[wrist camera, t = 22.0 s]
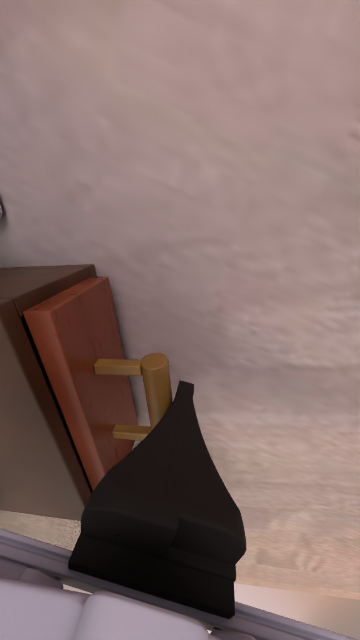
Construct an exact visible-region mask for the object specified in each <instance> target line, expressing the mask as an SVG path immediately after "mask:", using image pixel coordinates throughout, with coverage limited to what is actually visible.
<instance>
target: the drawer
mask: <svg viewBox="0 0 360 640" xmlns="http://www.w3.org/2000/svg"><path fill="white" fill-rule="evenodd" d="M23 315H24V316H22V317H20V319H21V321H22V324H23V326H24V328H25V331H26V333H27V336H28V338H29V341H30V343H31V346H32V348H33V351H34V353H35V356H36V358H37V361H38V363H39V366H40V368H41V371H42V373H43V375H44V378H45V380H46V383H47V385H48V388H49V390H50V393H51V395H52V398H53V400H54V403H55V405H56V408H57V410H58V413H59V415H60V417H61V420H62V422H63V425H64V427H65V430H66V432H67V435H68V437H69V440H70V442H71V445H72V447H73V450H74V452H75V455H76V457H77V459H78V462H79V464H80V467H81V469H82V472H83V473H84V471H85V472H86V474H87V477H88V480H89V482H90V485H91V487H92V490H93V491H94V489H95V488H96V486H97V485H98V483H99V482H100V481H101V479H102V478H103V477H104V476H105V474H106V473H107V472H108V471H109V470H110V469H111V468H112V467H113V466H115V465H116V464H117V463H118V462H120V461H121V460H122V459H123V458H124V457H126V456H127V455H128V454H129V453H130V452H131V450H132V447H133V444H134V441H135V440H143V439H144V438H145V437H146V436H147V435H148V434H149V433H150V432H151V431H152V430H153V428H154V427H155V426H156V425H157V424H158V422H159V421H160V420H161V419H162V417H163V416H164V414H165V413H166V412H167V410H168V409H169V407H170V406H171V404H172V402H173V401H172V391H171V382H170V372H169V362H168V358H167V356H166V355H164V354H161V353H152V354H149V355H146V356H145V357H144V358H143V359H142V360H125V359H124V354H123V349H122V344H121V339H120V334H119V329H118V324H117V319H116V314H115V309H114V304H113V299H112V294H111V289H110V284H109V279H108V277H90V278H88V279H86V280H84V281H82V282H80V283H78V284H76V285H74V286H72V287H70V288H68V289H66V290H64V291H63V292H61V293H59V294H57V295H55V296H53V297H51V298H49V299H47V300H45V301H43V302H41V303H39V304H37V305H35V306H33V307H31V308H29V309H27V310H26V311H24V312H23ZM128 375H132V376H141V375H142V376H143V382H144V388H145V394H146V400H147V406H148V412H149V418H150V424H151V427H146V426H138V423H137V418H136V413H135V408H134V403H133V398H132V394H131V389H130V384H129V379H128Z"/></svg>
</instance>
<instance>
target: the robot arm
mask: <svg viewBox="0 0 360 640" xmlns="http://www.w3.org/2000/svg"><path fill="white" fill-rule="evenodd" d="M2 213H3V212H2V208H1V205H0V218H1V217H2ZM193 394H194V384H192V383H188V382H184V381H181V380H180V382H179V385H178V388H177V392H176V395H175V399H174V401H173V402H172V404H171V406H170V407H169V409H168V410H167V412H166V413H165V414H164V416H163V417H162V419H161V420H160V421H159V422H158V424H157V425H156V426H155V427H154V428H153V430H152V431H151V432H150V433H149V434H148V435H147V436H146V437H145V438H144V439H143V440H142V441H141V442H140V443H139V444H138V445H137V446H136V447H135V448H134V449H133V450H132V451H131V452H130V453H129V454H128V455H127V456H126V457H124V458H123V459H122V460H121V461H120V462H118V463H117V464H116V465H115V466H113V467H112V468H111V469H110V470H109V471H108V472H107V473H106V474H105V476H104V477H103V478H102V479H101V481H100V482H99V483H98V485H97V486H96V488H95V489H94V491H93V492H92V494H91V496H90V497H89V499H88V501H87V504H86V506H85V508H84V510H83V513H82V516H81V533H80V535H79V538H78V540H77V542H76V545H75V547H74V550H73V551H71V550H68V549H65V548H61V547H58V546H55V545H52V544H49V543H45V542H42V541H39V540H36V539H32V538H29V537H26V536H23V535H20V534H16V533H13V532H10V531H7V530H3V529H0V640H357V639H354V638H351V637H348V636H345V635H341V634H338V633H335V632H332V631H329V630H325V629H322V628H319V627H316V626H312V625H309V624H305V623H303V622H299V621H296V620H293V619H290V618H287V617H283V616H280V615H277V614H274V613H271V612H267V611H264V610H261V609H257V608H254V607H251V606H248V605H245V604H242V603H238V602H235V599H234V582H235V580H236V566H235V564H236V563H237V562H238V561H239V560H240V558H241V557H242V556H243V555H244V554H245V552H246V537H245V531H244V526H243V521H242V517H241V513H240V510H239V509H238V507H237V505H236V504H235V502H234V501H233V499H232V497H231V496H230V494H229V492H228V490H227V489H226V487H225V485H224V483H223V481H222V479H221V478H220V476H219V473H218V471H217V469H216V467H215V465H214V463H213V461H212V459H211V457H210V454H209V452H208V450H207V447H206V445H205V442H204V439H203V436H202V434H201V431H200V427H199V424H198V420H197V417H196V413H195V408H194V404H193ZM63 584H65V585H68V586H72V587H75V588H78V589H81V590H84V591H87V592H90V593H93V594H91V595H90V594H85V593H80V592H75V591H70V590H65V589H63ZM207 630H210V631H212V632H211V633H210V634H209V633H208V631H207Z"/></svg>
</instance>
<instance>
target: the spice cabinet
mask: <svg viewBox="0 0 360 640" xmlns="http://www.w3.org/2000/svg"><path fill="white" fill-rule="evenodd" d="M90 277H97V276H96V272H95V267H94V265H92V264H91V265H65V266H40V267H14V268H0V510H5V511H12V512H19V513H26V514H34V515H41V516H48V517H56V518H63V519H70V520H78V521H81V516H82V513H83V510H84V508H85V506H86V504H87V501H88V499H89V497H90V496H91V494H92V492H93V490H92V487H91V485H90V482H89V480H88V477H87V474H86V472H85V471H84V473H83V472H82V469H81V467H80V464H79V462H78V459H77V457H76V455H75V452H74V450H73V447H72V445H71V442H70V440H69V437H68V435H67V432H66V430H65V427H64V425H63V422H62V420H61V417H60V415H59V413H58V410H57V408H56V405H55V403H54V400H53V398H52V395H51V393H50V390H49V388H48V385H47V383H46V380H45V378H44V375H43V373H42V371H41V368H40V366H39V363H38V361H37V358H36V356H35V353H34V351H33V348H32V346H31V343H30V341H29V338H28V336H27V333H26V331H25V328H24V326H23V324H22V321H21V319H20V317H22V316H24V315H23V312H24V311H26V310H27V309H29V308H31V307H33V306H35V305H37V304H39V303H41V302H43V301H45V300H47V299H49V298H51V297H53V296H55V295H57V294H59V293H61V292H63V291H64V290H66V289H68V288H70V287H72V286H74V285H76V284H78V283H80V282H82V281H84V280H86V279H88V278H90Z"/></svg>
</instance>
